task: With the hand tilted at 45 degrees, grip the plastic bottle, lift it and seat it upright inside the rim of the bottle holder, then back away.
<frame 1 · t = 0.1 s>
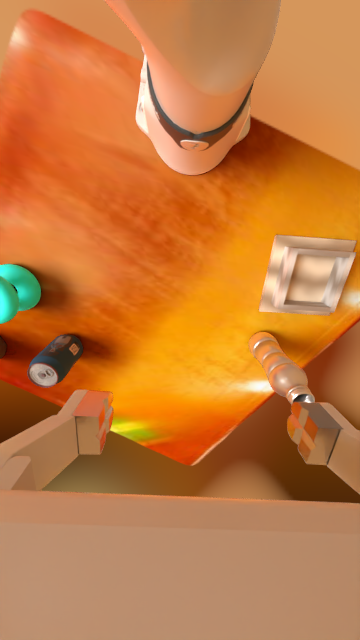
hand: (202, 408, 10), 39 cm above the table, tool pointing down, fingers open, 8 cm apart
donuts: (20, 286, 47), on the table
plastic bottle: (259, 340, 53), on the table
soda can: (71, 344, 53), on the table
bottle holder: (302, 277, 47), on the table
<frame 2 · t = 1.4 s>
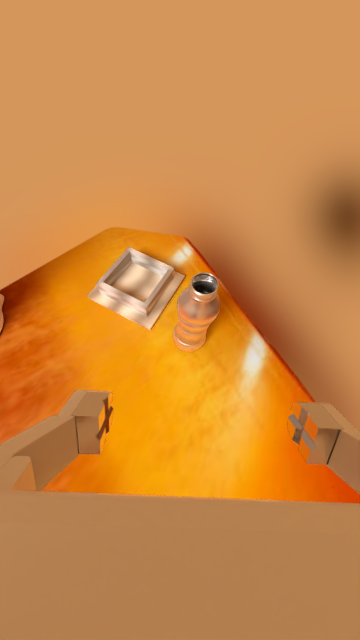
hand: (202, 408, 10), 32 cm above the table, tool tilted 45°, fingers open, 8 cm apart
plastic bottle: (188, 340, 46), on the table
bottle holder: (138, 287, 50), on the table
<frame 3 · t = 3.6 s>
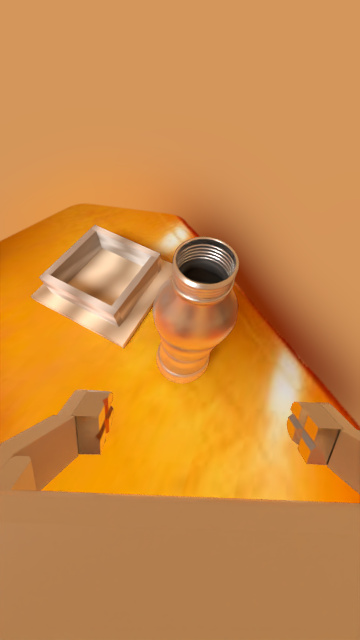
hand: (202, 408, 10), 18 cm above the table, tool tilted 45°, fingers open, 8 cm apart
plastic bottle: (181, 362, 30), on the table
bottle holder: (110, 284, 35), on the table
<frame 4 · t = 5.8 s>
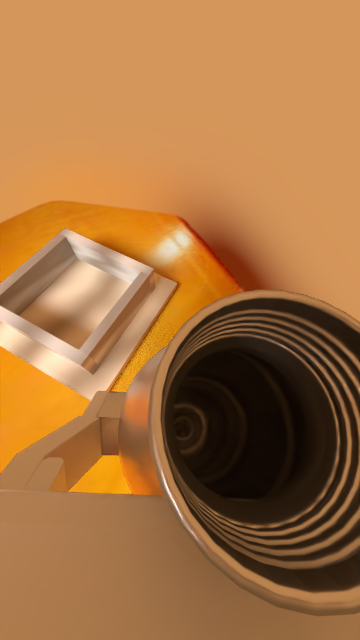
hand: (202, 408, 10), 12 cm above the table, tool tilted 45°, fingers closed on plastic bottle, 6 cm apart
plastic bottle: (182, 427, 21), on the table, touching gripper
bottle holder: (86, 308, 26), on the table
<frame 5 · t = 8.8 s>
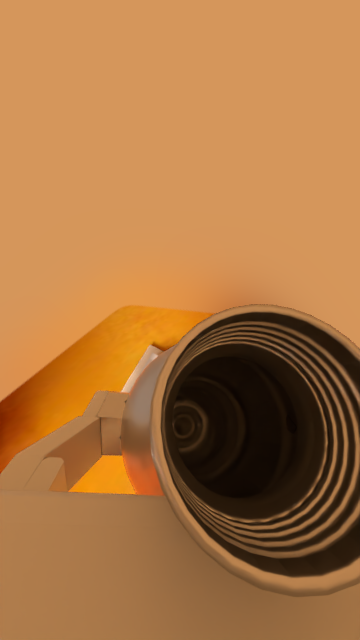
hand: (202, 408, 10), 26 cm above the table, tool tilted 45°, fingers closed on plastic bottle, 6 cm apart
plastic bottle: (183, 425, 21), point 13 cm above the table, touching gripper
bottle holder: (168, 411, 34), on the table
when the fingers open (15 cm above the table, at t = 12.1 s): plastic bottle moves 2 cm, resting on bottle holder.
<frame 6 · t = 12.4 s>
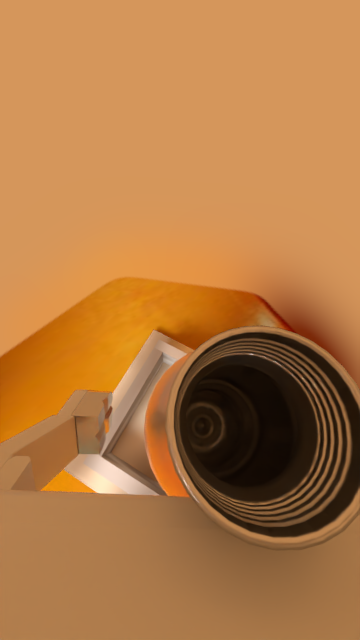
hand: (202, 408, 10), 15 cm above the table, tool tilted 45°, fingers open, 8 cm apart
plastic bottle: (202, 425, 22), point 1 cm above the table, touching bottle holder, gripper
bottle holder: (181, 427, 23), on the table
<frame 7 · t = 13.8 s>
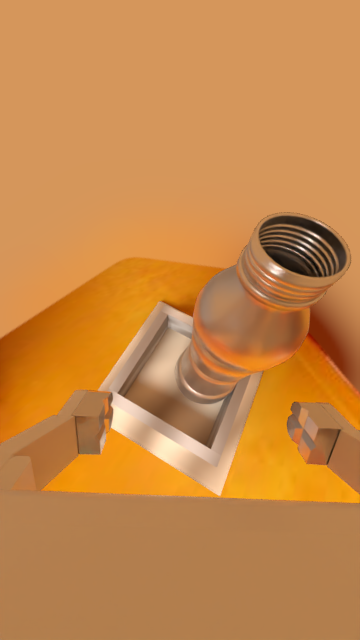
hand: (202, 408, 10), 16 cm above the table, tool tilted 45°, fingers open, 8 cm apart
plastic bottle: (201, 378, 26), point 1 cm above the table, touching bottle holder
bottle holder: (183, 381, 26), on the table
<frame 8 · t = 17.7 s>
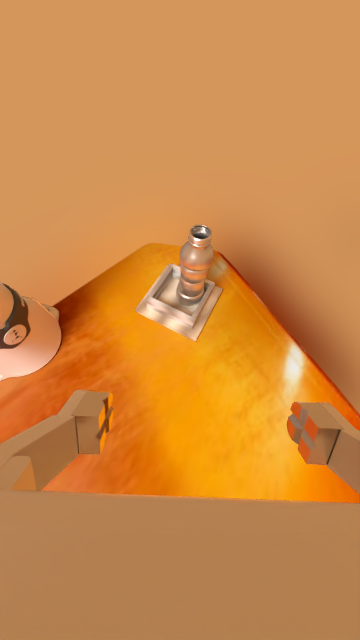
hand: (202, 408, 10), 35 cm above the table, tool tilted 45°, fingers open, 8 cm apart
plastic bottle: (188, 298, 54), point 1 cm above the table, touching bottle holder
bottle holder: (180, 300, 54), on the table
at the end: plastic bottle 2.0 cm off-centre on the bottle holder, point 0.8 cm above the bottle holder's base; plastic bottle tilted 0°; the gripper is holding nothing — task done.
